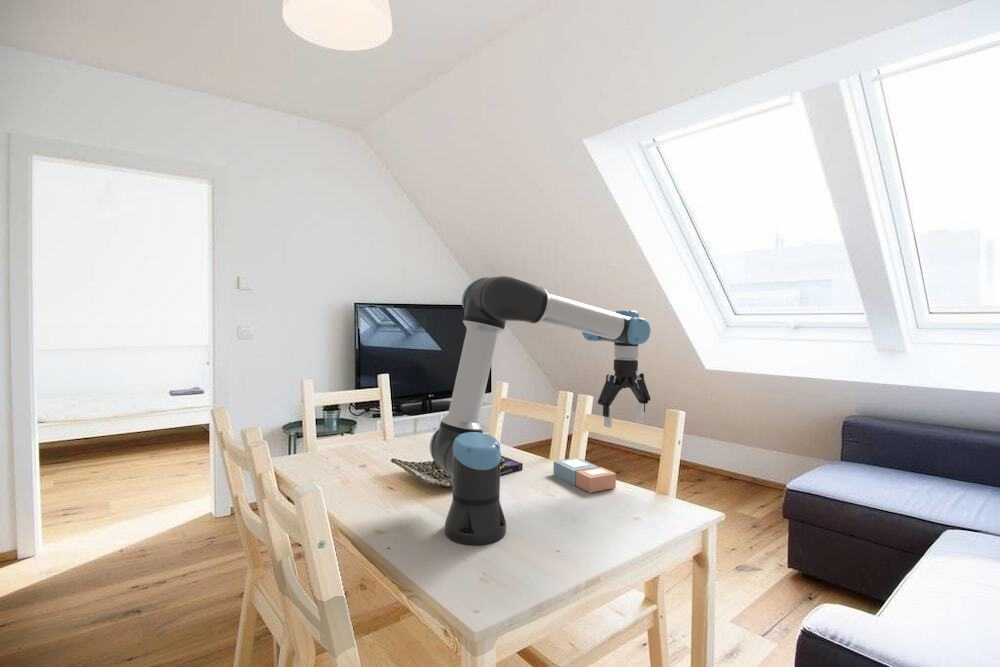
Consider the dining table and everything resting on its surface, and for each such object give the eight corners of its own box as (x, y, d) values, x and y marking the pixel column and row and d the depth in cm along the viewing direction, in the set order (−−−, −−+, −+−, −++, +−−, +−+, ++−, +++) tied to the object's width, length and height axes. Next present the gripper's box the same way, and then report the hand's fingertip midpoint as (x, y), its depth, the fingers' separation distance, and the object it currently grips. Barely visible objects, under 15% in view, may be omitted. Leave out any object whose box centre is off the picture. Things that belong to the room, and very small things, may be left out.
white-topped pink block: (615, 487, 155) (616, 473, 155) (590, 492, 151) (590, 477, 150) (600, 480, 162) (601, 466, 161) (575, 485, 157) (576, 470, 157)
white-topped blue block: (599, 481, 162) (600, 467, 162) (574, 485, 157) (575, 471, 157) (577, 470, 173) (577, 457, 172) (553, 474, 168) (553, 460, 168)
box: (478, 485, 159) (523, 472, 172) (478, 474, 159) (523, 462, 171) (453, 473, 170) (497, 461, 182) (453, 462, 170) (497, 452, 182)
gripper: (646, 356, 169) (644, 418, 170) (587, 358, 157) (585, 425, 158) (663, 358, 162) (660, 423, 163) (603, 361, 150) (601, 431, 151)
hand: (623, 424), depth 160 cm, fingers open, 13 cm apart
